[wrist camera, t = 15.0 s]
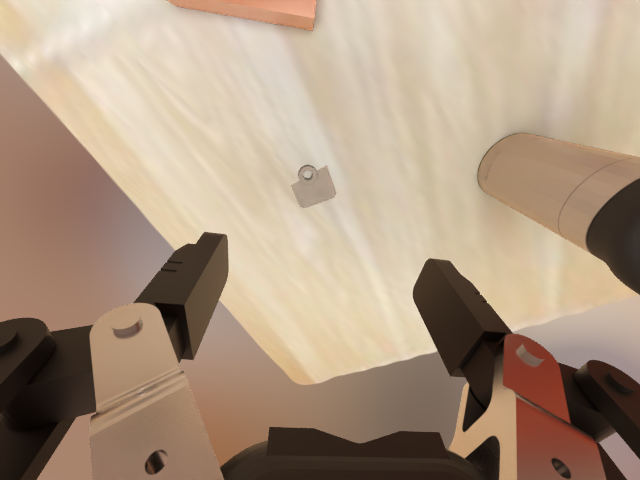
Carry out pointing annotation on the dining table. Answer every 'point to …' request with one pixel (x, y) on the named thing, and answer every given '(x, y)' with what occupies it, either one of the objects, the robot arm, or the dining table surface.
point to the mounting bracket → (313, 187)
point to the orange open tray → (259, 10)
